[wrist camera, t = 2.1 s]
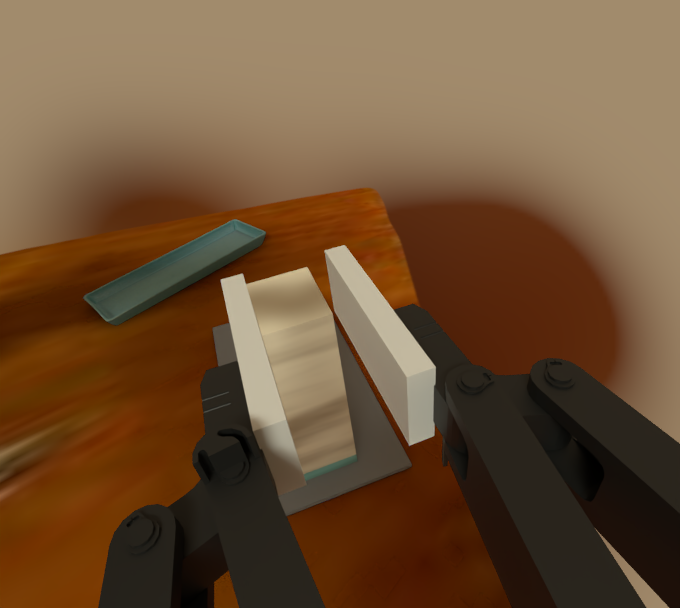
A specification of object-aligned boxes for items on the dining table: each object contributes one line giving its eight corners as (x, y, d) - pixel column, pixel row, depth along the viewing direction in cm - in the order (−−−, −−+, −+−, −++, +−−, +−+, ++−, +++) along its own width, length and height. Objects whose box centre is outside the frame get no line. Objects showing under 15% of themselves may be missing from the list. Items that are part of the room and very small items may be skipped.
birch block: (357, 461, 36) (332, 313, 27) (288, 487, 35) (236, 343, 25) (335, 408, 41) (307, 267, 31) (273, 430, 40) (224, 290, 30)
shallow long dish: (114, 333, 56) (105, 319, 54) (88, 308, 61) (80, 294, 60) (271, 245, 69) (267, 231, 68) (238, 231, 75) (234, 218, 73)
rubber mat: (411, 466, 36) (411, 464, 35) (245, 532, 33) (244, 529, 33) (321, 297, 56) (320, 295, 56) (213, 330, 53) (212, 327, 53)
